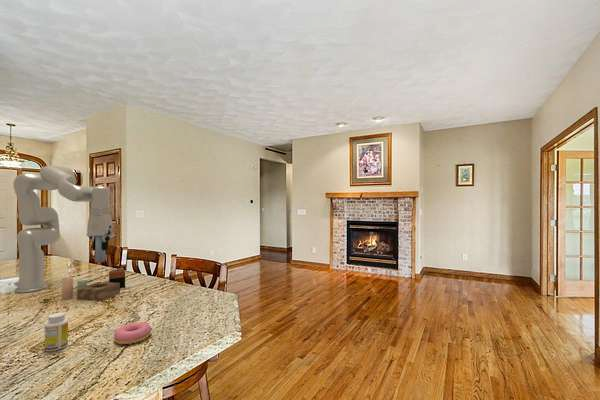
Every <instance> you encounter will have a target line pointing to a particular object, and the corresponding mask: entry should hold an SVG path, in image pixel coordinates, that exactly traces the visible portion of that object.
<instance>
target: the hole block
mask: <svg viewBox="0 0 600 400" xmlns="http://www.w3.org/2000/svg"><path fill="white" fill-rule="evenodd" d="M118 294H121V288H120V283H110V282H109V281H107V282H106V281H105V282H104V281H97V282H94V283H91V284H87V286H84V287H81V288H78V289H77V288H76V300H79V301H93V300H95V301H97V302H100V301H101V300H102V301H104V300H106V299H108V298H111V297H113V296H117V295H118Z"/></svg>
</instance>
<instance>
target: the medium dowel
mask: <svg viewBox="0 0 600 400" xmlns="http://www.w3.org/2000/svg"><path fill="white" fill-rule="evenodd" d="M61 281H62V284H61V300H63V301H64V300H65V301H66V300H72V299H74V278H73V277H67V278H63V279H61Z"/></svg>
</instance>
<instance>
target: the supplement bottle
mask: <svg viewBox="0 0 600 400" xmlns="http://www.w3.org/2000/svg"><path fill="white" fill-rule="evenodd" d="M47 320H48V321H47V322H46V323H45V324H44V350H45V351H46V352H56V350H57V351H59V349H60V350H62V349H64V348H66V347H67V346H68V343H69V320H68V318H66V313H65V312H55V313H52V314H50V315H48V318H47Z"/></svg>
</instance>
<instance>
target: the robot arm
mask: <svg viewBox="0 0 600 400" xmlns="http://www.w3.org/2000/svg"><path fill="white" fill-rule="evenodd" d="M13 190H14V194H15V195H16V199H17V210H18V217H19V222H20V224H21V225H23V226H42V227H31V228H29V227H28V228H24V229H22V230H20V231H19V232H18V233H17V235H16V241H17V245H18V252H19V253H18V254H19V255H18V265H19V266H18V280H17V281H16V282H14V283H13V285H14V286H16V288H14V293H19V294H20V293H24V294H25V293H31V292H37V291H41V290H45V289H47V288H48V286H49V285H48V284H47V283H45V252H44V251H43V250H42V249H41V246H47V245H54V244H56V243H57V242H58V241H60V240H59V239H60V236H61V233H60V230H61V229H60V220H59V215H58V212H57V210H56V209H54V208H53V207H49V206H48V207H47V206H42V205H41V200H40V197H39V196H38V194H37V193H36V192H35V191H37V190H39V191H56V190H57V191H58V194H59V195H60V196H61V197H63V198H65V199H66V200H69V201H72V202H76V203H81V202H83V203H84V202H85V203H87V202H88V203H90V210H89V213H90V214H89V216H88V219H87V226H86V227H87V228H86V229H87V230H86V236H87V237H88V238H89V239H90V240H91V243H92V251H95V236H102V239H103V242H102V250H105V251H107V250H109V242H110V241H111V239H112V238H113V237H114V236H115V233H114V231H113V229H114V227H113V219H112V214H111V189H110V187H108V186H99V185H98V186H85V185H77V179H76V174H75V172H74V170H73V169H72V168H70V167H66V166H59V165H58V166H57V165H45V166H43V167H42V168H40V169H39V173H38V172H37V173H36V172H24V173H19V174H18V175H16V176H15V178H14V180H13ZM34 190H35V191H34Z"/></svg>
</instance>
